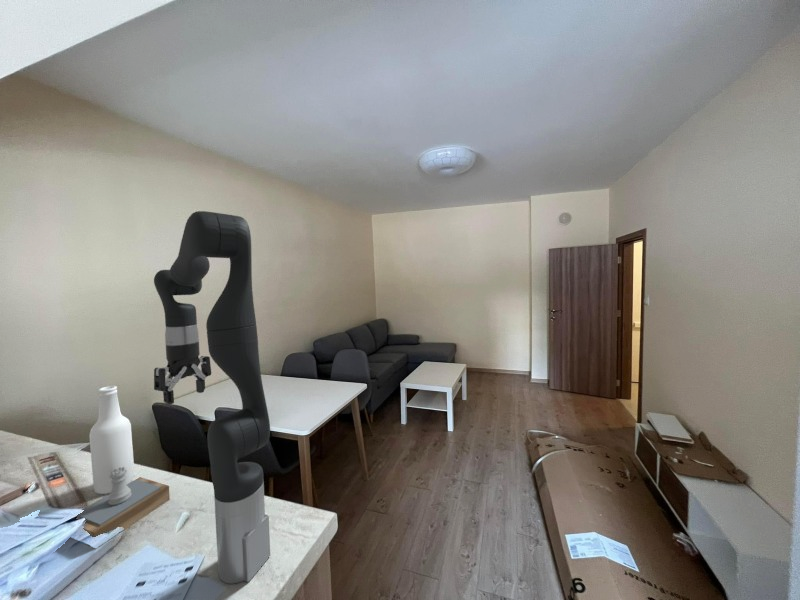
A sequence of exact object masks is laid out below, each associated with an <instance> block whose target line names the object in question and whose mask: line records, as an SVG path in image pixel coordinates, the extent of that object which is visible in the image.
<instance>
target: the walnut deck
mask: <svg viewBox="0 0 800 600" xmlns="http://www.w3.org/2000/svg"><path fill="white" fill-rule="evenodd" d="M136 479H137V480H140V481H143V482H146V483H149V484H153V485H156V486H159V487H161V489H159V490H158V491H156V492H154V493H153V494H151V495H150V496H148V497H146V498H145V499H143V500H142V501H140V502H138V503H137V504H135V505H134V506H132V507H130V508H129V509H127V510H125V511H124V512H122V513H121V514H119V515H117V516H116V517H114V518H113V519H111V520H109V521H108V522H106V523H105V524H103V525H101V526H98V525H96V524H93V523H91V522H88V521H86V522H85V524H84V528H83V529H84V530H85V531H87V532H88V533H89V534H90V536H92V537H96V536H98V535H100V534H103V533H107V532H109V531H111V530H114V529H116V528H117V527H123V528H124V531H125V530H126V529H128V528H129V527H132V525H134V524H135V523H137V522H139V521H140V520H142V519H143V518H144V517H146V516H147V515H149V514H150V513H152V512H153V511H155V510H157V509H158V508H159V507H161V506H162V505H164V504H165V503H167V502H168V501H170V499H171V497H170V496H171V494H170V486H169V485H167V484H164V483H162V482H157V481H155V480H152V479H147V478H145V477H138V478H136ZM136 479H133V480H132V482H133V481H135V480H136ZM130 483H131V482H130ZM106 496H107V495H105V496H104V497H106ZM104 497H102V498H104ZM97 501H98V500H96V501H94V502H93V503H95V502H97ZM88 506H89V505H87V506H85V507H83V508H82V509H84V508H86V507H88ZM76 519H80V518H79V517H77V518H76Z"/></svg>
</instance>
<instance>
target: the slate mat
mask: <svg viewBox="0 0 800 600" xmlns="http://www.w3.org/2000/svg"><path fill="white" fill-rule="evenodd" d="M137 479H138V478H136V479H134V480H135V481H134V480H132V481H133V482H131V483H129V484H127V486H128V487H129V488H130V489H131V493H132V494H131V496H130V498H129V499H128V500H126V501H125V502H123V503H120V504H117V505H110V504H108V501H109V500H108V498H109V496H110V493H109V494H106V495H105V496H106V497H105V496H104V498H103V497H101V498H100V499H98V500H96V501H97V502H96V501H94V502H95V503H94V502H93V503H91V504H89V505H87V506H88V507H87V506H85V507H86V508H85V507H83V508H84V509H83V508H82V509H81V510H84V511H83V512H82V513H80V514H78V515H77V517H79V518H85V519H87V521H88V522H91V523H93V524H96V525H98V526H101V525H103V524H105V523H106V522H108V521H109V520H111V519H113V518H114V517H116V516H117V515H119V514H121V513H122V512H124V511H125V510H127V509H129V508H130V507H132V506H134V505H135V504H137V503H138V502H140V501H142V500H143V499H145V498H146V497H148V496H150V495H151V494H153V493H154V492H156V491H158V490H159V489H161V487H159V486H156V485H153V484H149V483H146V482H143V481H140V480H137Z"/></svg>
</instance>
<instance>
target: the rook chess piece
mask: <svg viewBox="0 0 800 600" xmlns="http://www.w3.org/2000/svg"><path fill="white" fill-rule="evenodd" d="M126 472H127V470H125V468H124V467H123V468H122V469H121V467H120V468H119V470H117V469H114V471H112V472H111V475H110V476H109V477H110V478H112V481H111V483H112V492H111V493H109V494H110V496H109V498H108V500H109V501H108V504H110V505H117V504H120V503H123V502H125V501H126V500H128V499H129V498H130V496H131V494H132V493H131V489H130V488H129V487H128V486H127V485H126V482H125V478H126V476H125V473H126Z"/></svg>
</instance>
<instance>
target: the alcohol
mask: <svg viewBox="0 0 800 600" xmlns="http://www.w3.org/2000/svg"><path fill="white" fill-rule="evenodd" d="M97 392H98V394H97V395H98V418H97V421H96V422H95V423H94V424H93V425H92V427H91V428H90V431H89V435H88V436H89V437H88V438H89V447H90V460H91V469H92V482H93V483H92V484H93V491H94V492H95V493H96V494H98V495H109V494H110V493H111V492H112V483H111V481H112V478H110V477H109V476H110V475H111V472H112V471H114V469H117V470H119V468H120V467H121V469H122V468H123V467H124V468H125V470H127V472H126V473H125V476H126V478H125V482H126V485H127V484H129V483H130V482H132V481H134V480H135V475H136V474H135V463H134V462H135V461H134V449H133V447H134V446H133V434H132V423H131V421H130V419H129V418H127V417H126V416H124V415H123V414H122V413H121V407H120V403H119V396H118V386H116V385H108V386H103V387H100V388H99V389H98V390H97Z"/></svg>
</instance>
